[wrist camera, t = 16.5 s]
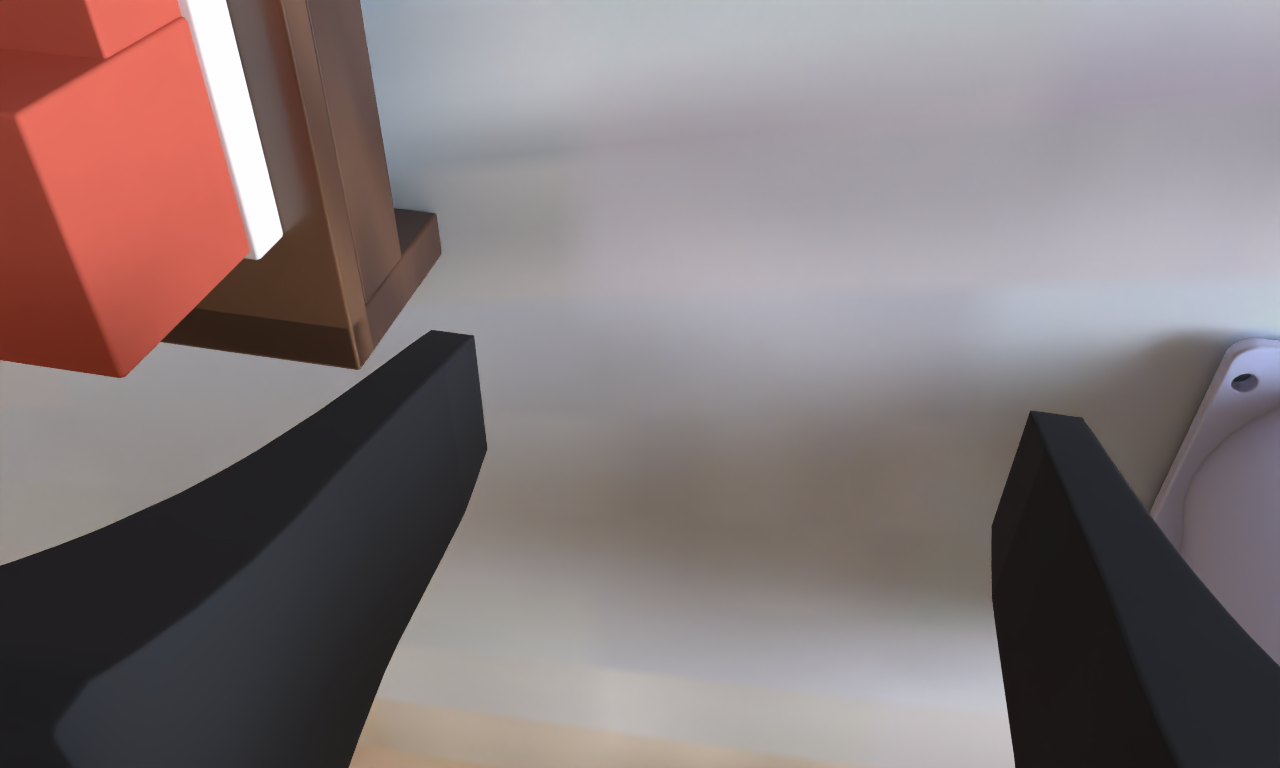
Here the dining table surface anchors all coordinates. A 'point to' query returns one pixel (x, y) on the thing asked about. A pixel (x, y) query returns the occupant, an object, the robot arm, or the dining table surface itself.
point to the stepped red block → (121, 175)
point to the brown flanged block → (316, 198)
